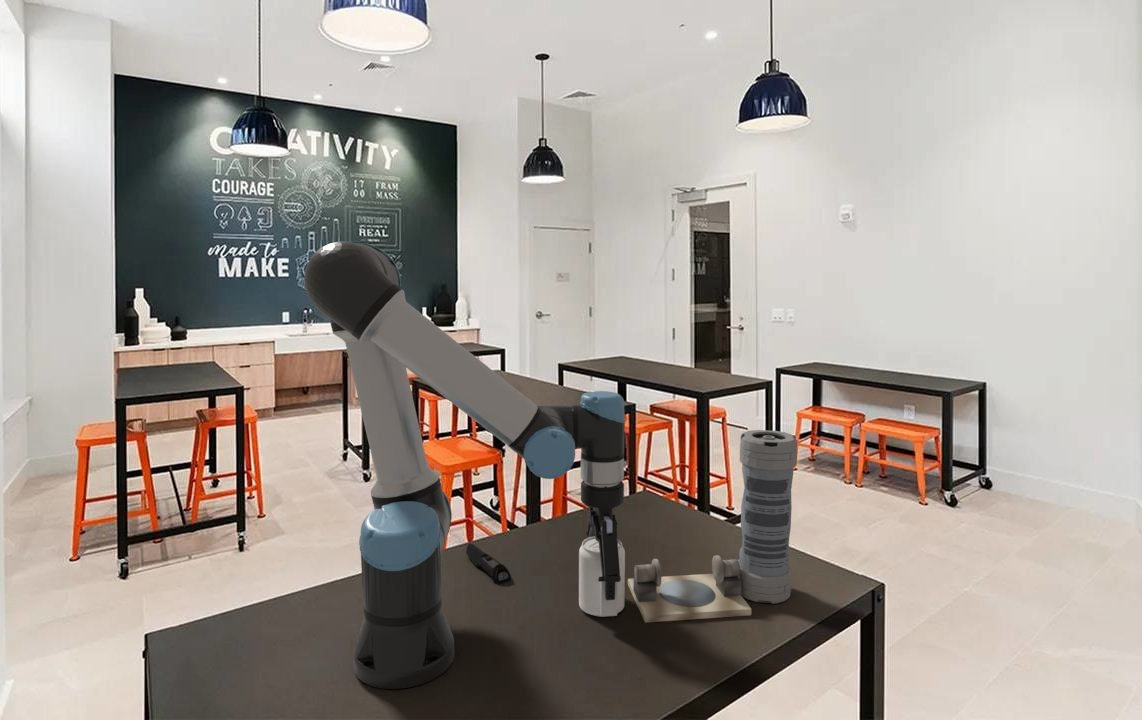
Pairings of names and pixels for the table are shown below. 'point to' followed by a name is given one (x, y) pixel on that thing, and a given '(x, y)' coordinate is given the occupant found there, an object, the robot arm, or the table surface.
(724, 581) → the cradle
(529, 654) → the table surface
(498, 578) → the electric trimmer
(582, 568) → the beverage can
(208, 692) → the table surface
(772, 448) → the canister
